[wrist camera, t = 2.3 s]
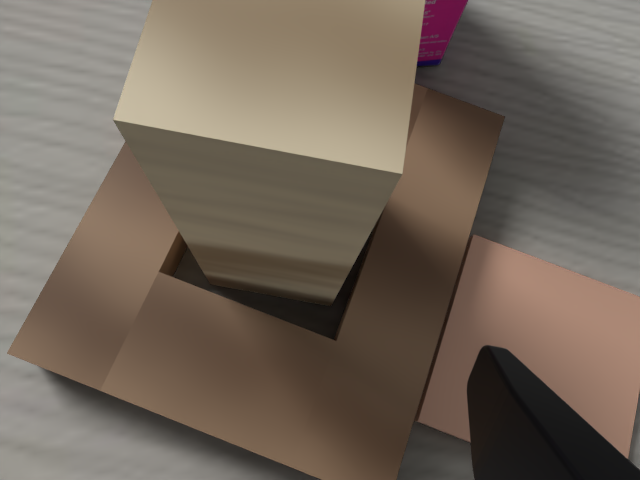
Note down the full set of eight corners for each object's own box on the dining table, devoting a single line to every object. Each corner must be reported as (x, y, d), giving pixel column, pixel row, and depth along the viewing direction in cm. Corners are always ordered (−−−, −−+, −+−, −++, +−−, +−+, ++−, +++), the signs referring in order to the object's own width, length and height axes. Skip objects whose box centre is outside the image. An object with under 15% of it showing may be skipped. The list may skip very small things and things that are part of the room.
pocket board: (377, 495, 19) (388, 506, 17) (33, 357, 20) (6, 353, 18) (486, 139, 24) (504, 116, 22) (207, 35, 25) (202, 5, 23)
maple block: (330, 306, 21) (402, 174, 9) (210, 284, 21) (113, 119, 9) (349, 194, 23) (431, -51, 10) (236, 174, 23) (185, -99, 10)
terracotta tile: (611, 498, 20) (620, 501, 19) (414, 420, 20) (418, 421, 20) (644, 304, 22) (654, 302, 22) (468, 238, 23) (473, 233, 22)
